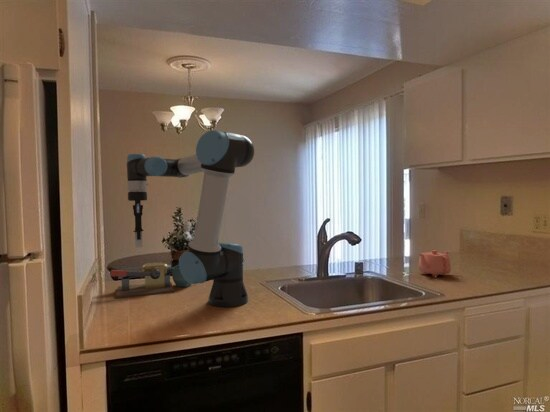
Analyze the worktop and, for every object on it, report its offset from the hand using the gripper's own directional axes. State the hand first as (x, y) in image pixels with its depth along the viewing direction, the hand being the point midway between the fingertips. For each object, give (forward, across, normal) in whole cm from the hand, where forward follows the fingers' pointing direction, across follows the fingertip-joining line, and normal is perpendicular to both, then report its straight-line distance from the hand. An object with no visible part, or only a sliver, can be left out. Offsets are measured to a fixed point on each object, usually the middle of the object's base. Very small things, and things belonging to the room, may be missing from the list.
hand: (138, 247), depth 153 cm
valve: (+19, +7, -2) cm, 20 cm away
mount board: (+20, +6, -2) cm, 21 cm away
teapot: (+22, -20, -141) cm, 144 cm away
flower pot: (+20, +8, -19) cm, 29 cm away
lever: (+13, 0, +2) cm, 13 cm away
